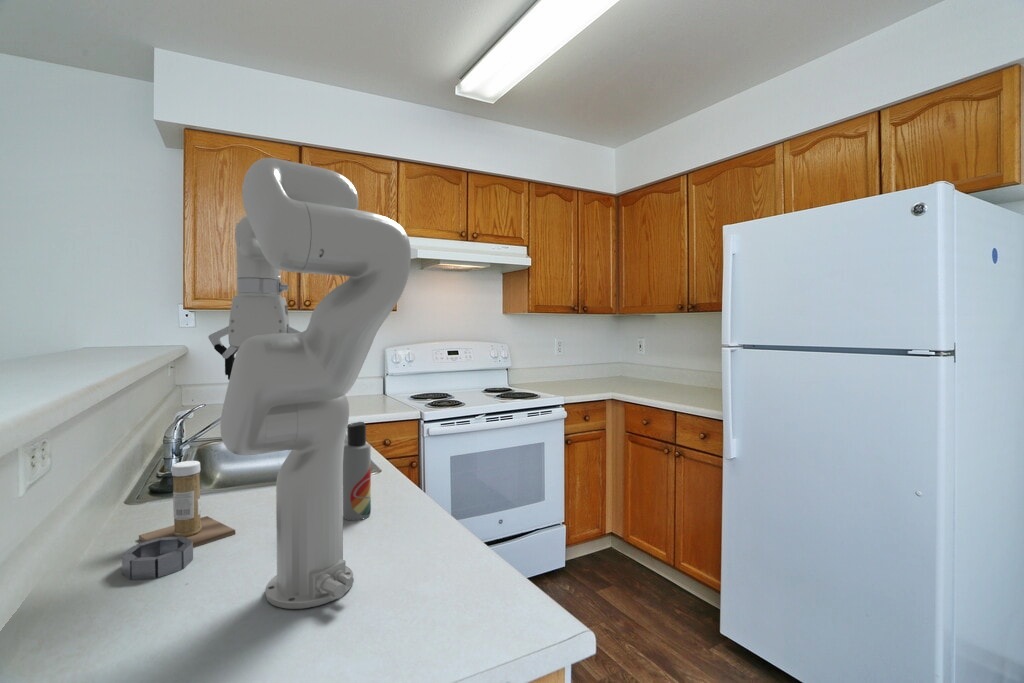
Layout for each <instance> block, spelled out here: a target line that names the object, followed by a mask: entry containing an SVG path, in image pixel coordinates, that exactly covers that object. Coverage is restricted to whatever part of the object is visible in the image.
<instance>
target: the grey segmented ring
mask: <svg viewBox="0 0 1024 683" xmlns="http://www.w3.org/2000/svg"><path fill="white" fill-rule="evenodd" d="M193 560H194V547H193V541H191V540H190V539H188V538H186V537H183V536H180V537H162V538H157V539H154V540H150V541H147V542H141V543H136V545H133V546H131V547H130V548H129V549H127V550H126V551H124V552H123V553H122V554H121V574H122V575H123V574H124V576H125V577H126V578H127V579H128V580H131V581H136V580H138V581H139V580H149V579H153V580H154V579H157V578H158V579H159V578H162V577H164V576H168V575H170V574H172V573H176V572H179V571H182V569H185V568H186V567H187V566H188V565H189V564H190V563H191V562H192V561H193Z"/></svg>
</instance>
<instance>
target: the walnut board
mask: <svg viewBox="0 0 1024 683" xmlns="http://www.w3.org/2000/svg"><path fill="white" fill-rule="evenodd" d="M201 527H202V528H201V531H199V532H198V533H196V534H194V535H191V536H185V537H186V538H188V539H190V540H191V541H193V548H196V547H199V546H203V545H205V544H209V543H212V542H215V541H219V540H222V539H225V538H227V537H230V536H234V535H236V529H234V528H233V527H230V526H228V525H226V524H224V523H222V522H220V521H218V520H216V519H214V518H212V517H209V516H203V517H201ZM162 537H178V536H175V535H174V525H170V526H167V527H163V528H159V529H156V530H152V531H149V532H146V533H141V534H138V540H139V541H141V543H143V542H147V541H150V540H154V539H157V538H162Z"/></svg>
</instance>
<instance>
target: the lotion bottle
mask: <svg viewBox="0 0 1024 683" xmlns="http://www.w3.org/2000/svg"><path fill="white" fill-rule="evenodd" d="M346 437H347V443H346V444H344V453H343V519H345V520H346V519H347V521H360V520H359V519H362V520H364V519H363V518H365V519H367V518H369V517H370V516H369V515H371V512H372V511H371V510H372V508H371V507H372V502H371V501H372V497H371V496H372V490H371V489H372V484H371V483H372V482H371V481H372V479H371V478H372V475H371V474H372V473H371V472H372V471H371V470H372V468H371V466H372V461H371V460H372V458H371V457H372V456H371V454H372V453H371V452H372V450H371V448H372V447H371V444H370V443H367V425H366V424H365V422H364V421H358V422H352V423H348V426H347V431H346ZM368 516H369V517H368ZM366 517H367V518H366Z"/></svg>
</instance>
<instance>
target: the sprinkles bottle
mask: <svg viewBox="0 0 1024 683" xmlns="http://www.w3.org/2000/svg"><path fill="white" fill-rule="evenodd" d="M200 473H201V462H200V461H199V460H185V461H180V462H176V463H174V464H172V466H171V475H172V480H173V482H172V483H173V485H172V486H173V490H172V499H173V501H172V502H173V503H172V504H173V505H172V506H173V522H174V535H175V536H178V537H180V536H183V537H185V536H191V535H194V534H196V533H198V532H199V531H201V528H202V527H201V518H202V517H201V512H202V510H201V509H202V508H201V492H200V490H201V489H200V486H201V485H200Z"/></svg>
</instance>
